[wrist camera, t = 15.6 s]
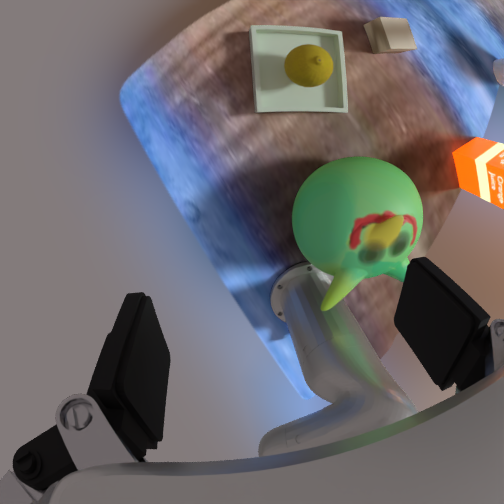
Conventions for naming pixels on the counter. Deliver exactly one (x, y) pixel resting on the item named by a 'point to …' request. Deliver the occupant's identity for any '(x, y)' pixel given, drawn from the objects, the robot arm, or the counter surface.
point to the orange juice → (482, 169)
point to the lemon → (308, 65)
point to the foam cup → (499, 70)
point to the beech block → (390, 35)
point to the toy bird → (357, 222)
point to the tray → (276, 80)
